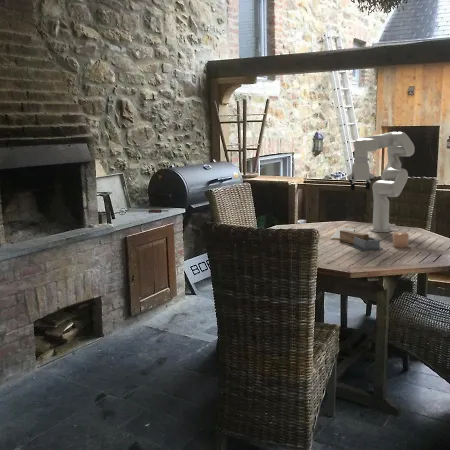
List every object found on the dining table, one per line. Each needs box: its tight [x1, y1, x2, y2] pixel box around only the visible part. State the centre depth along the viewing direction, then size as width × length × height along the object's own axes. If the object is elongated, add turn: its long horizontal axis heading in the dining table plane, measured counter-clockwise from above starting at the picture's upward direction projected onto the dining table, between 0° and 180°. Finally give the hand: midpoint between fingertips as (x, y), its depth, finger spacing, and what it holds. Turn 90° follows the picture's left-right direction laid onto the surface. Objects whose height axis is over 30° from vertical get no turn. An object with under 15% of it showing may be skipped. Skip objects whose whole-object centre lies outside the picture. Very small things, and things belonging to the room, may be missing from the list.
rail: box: [339, 230, 370, 244], centre depth 293 cm, size 4×20×6 cm, turn 26°
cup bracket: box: [349, 235, 384, 252], centre depth 283 cm, size 12×14×5 cm
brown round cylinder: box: [392, 231, 410, 249], centre depth 284 cm, size 8×8×7 cm
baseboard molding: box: [330, 225, 356, 241], centre depth 318 cm, size 31×3×12 cm
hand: (360, 189), depth 305 cm, fingers open, 9 cm apart
